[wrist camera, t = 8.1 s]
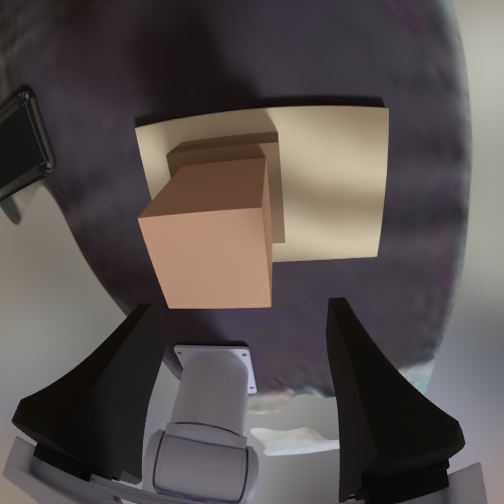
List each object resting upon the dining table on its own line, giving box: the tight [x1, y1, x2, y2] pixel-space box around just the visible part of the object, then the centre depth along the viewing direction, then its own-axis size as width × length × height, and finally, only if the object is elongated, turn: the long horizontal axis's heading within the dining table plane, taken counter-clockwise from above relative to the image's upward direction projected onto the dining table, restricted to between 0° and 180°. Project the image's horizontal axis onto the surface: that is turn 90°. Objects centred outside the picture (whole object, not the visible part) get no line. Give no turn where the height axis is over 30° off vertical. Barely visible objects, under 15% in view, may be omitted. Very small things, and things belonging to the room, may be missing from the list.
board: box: [135, 105, 389, 262], centre depth 19 cm, size 11×16×1 cm
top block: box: [138, 158, 273, 308], centre depth 14 cm, size 4×4×6 cm
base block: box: [166, 132, 285, 244], centre depth 17 cm, size 6×6×3 cm
